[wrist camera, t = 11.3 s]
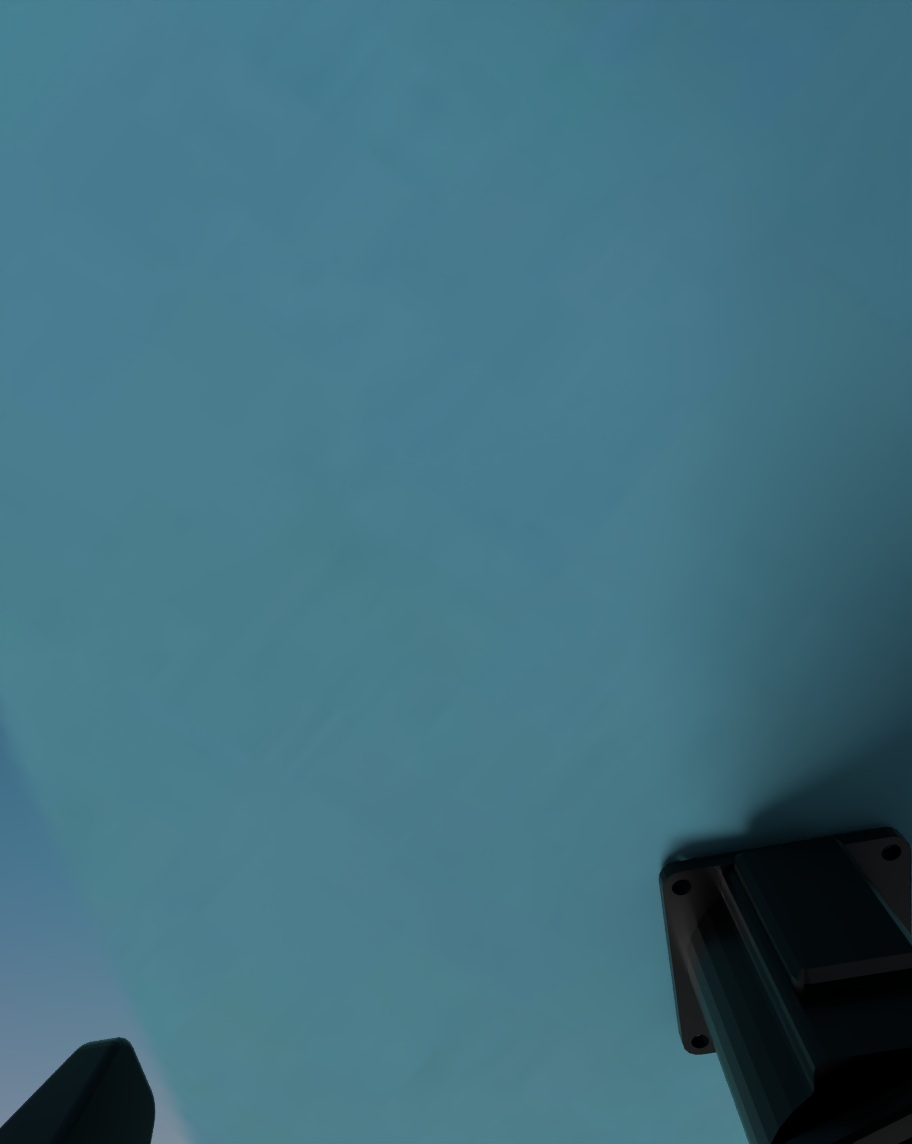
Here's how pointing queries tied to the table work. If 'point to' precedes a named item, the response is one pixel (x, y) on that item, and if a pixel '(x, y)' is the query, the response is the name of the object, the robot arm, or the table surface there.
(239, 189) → the table surface
